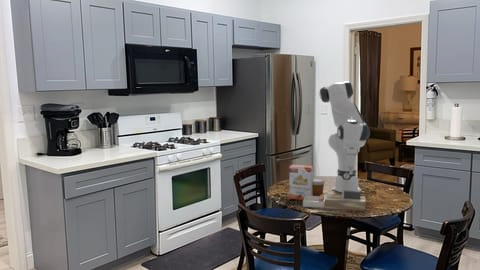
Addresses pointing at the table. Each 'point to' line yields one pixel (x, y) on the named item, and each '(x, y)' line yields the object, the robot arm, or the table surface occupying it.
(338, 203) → the bench plate
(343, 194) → the grey block
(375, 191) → the table surface
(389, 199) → the table surface
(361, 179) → the table surface
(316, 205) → the box
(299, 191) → the cracker box
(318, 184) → the disposable coffee cup
